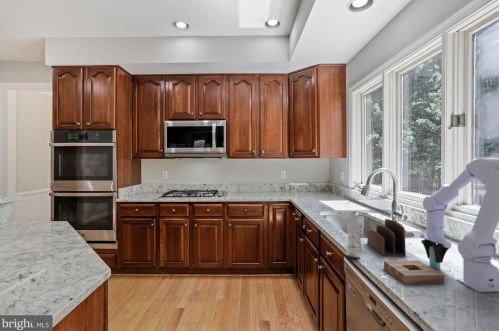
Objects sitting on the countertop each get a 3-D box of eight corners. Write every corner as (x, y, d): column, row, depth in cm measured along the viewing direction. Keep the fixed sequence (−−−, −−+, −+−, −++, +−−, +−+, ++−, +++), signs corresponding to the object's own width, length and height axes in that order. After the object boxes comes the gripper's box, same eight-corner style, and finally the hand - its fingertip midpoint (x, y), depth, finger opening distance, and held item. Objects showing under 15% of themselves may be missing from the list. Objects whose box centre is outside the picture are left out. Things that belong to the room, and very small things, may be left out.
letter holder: (386, 243, 144) (386, 216, 143) (406, 257, 124) (406, 225, 124) (367, 243, 144) (367, 216, 144) (383, 256, 124) (383, 225, 124)
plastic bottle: (358, 254, 127) (357, 211, 127) (364, 259, 120) (364, 213, 120) (344, 254, 127) (344, 211, 127) (350, 259, 120) (350, 214, 120)
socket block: (444, 283, 97) (444, 274, 97) (405, 284, 96) (405, 275, 96) (417, 267, 111) (417, 260, 111) (383, 268, 110) (383, 261, 110)
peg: (442, 269, 109) (442, 248, 109) (433, 269, 109) (433, 249, 109) (435, 265, 113) (435, 246, 113) (427, 265, 113) (427, 246, 113)
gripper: (413, 222, 118) (413, 254, 118) (438, 231, 103) (438, 267, 103) (429, 222, 118) (429, 253, 118) (456, 230, 104) (456, 266, 104)
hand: (434, 260), depth 111 cm, fingers open, 4 cm apart
